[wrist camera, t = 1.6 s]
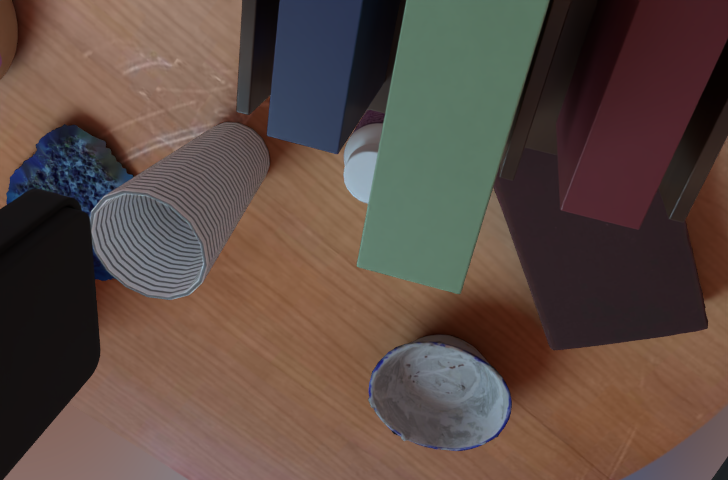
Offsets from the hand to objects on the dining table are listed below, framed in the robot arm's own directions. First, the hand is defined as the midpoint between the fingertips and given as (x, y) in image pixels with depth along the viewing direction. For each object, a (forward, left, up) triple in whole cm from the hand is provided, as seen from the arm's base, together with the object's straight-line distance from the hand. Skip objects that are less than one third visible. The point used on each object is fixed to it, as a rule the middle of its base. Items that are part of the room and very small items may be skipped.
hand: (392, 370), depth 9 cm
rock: (+30, -31, -41) cm, 60 cm away
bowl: (+37, +4, -41) cm, 55 cm away
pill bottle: (+14, -5, -41) cm, 44 cm away
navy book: (0, -6, -23) cm, 24 cm away
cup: (+20, -18, -41) cm, 49 cm away
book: (+18, +12, -41) cm, 47 cm away
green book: (0, 0, -23) cm, 23 cm away
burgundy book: (0, +5, -23) cm, 24 cm away
